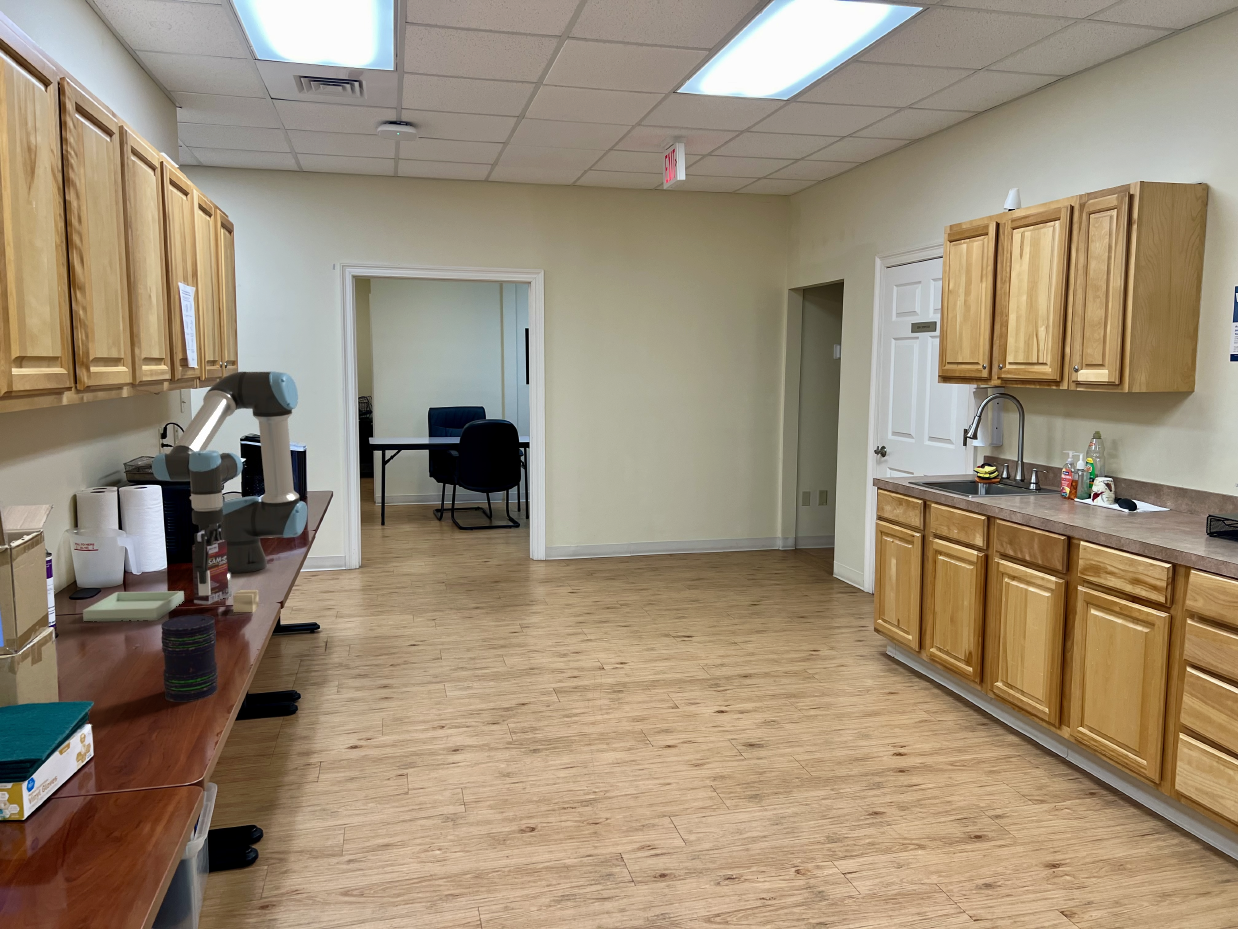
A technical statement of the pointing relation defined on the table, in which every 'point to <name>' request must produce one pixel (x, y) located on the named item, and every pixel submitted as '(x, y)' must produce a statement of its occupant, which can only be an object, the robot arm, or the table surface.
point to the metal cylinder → (229, 585)
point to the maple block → (245, 601)
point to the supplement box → (214, 573)
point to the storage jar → (189, 657)
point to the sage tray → (134, 606)
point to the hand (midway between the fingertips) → (211, 589)
